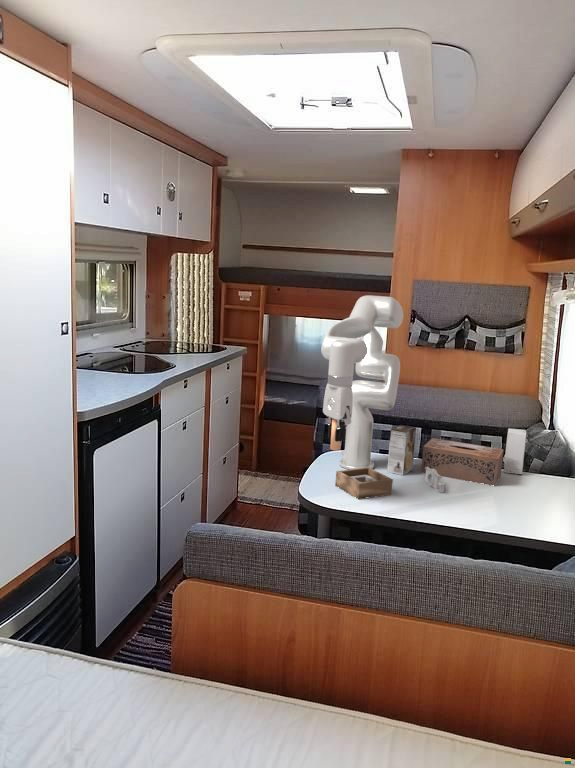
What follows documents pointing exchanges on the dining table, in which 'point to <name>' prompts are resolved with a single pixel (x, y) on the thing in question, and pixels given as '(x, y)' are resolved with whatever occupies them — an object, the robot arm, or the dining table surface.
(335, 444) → the peg
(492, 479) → the tissue box cover
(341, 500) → the dining table surface
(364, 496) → the box
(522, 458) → the skincare box
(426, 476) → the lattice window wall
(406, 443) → the coffee box
